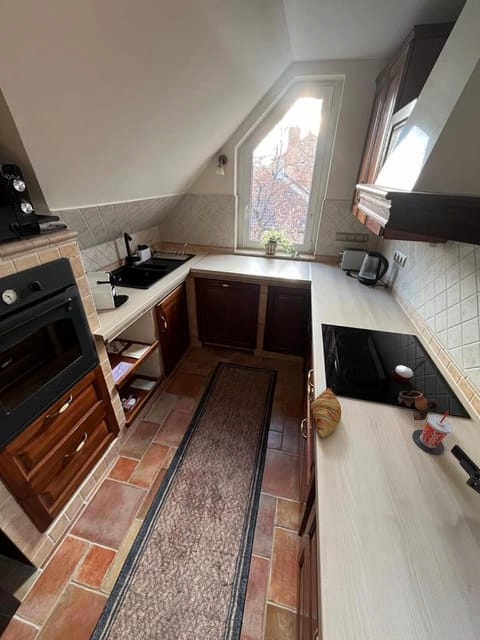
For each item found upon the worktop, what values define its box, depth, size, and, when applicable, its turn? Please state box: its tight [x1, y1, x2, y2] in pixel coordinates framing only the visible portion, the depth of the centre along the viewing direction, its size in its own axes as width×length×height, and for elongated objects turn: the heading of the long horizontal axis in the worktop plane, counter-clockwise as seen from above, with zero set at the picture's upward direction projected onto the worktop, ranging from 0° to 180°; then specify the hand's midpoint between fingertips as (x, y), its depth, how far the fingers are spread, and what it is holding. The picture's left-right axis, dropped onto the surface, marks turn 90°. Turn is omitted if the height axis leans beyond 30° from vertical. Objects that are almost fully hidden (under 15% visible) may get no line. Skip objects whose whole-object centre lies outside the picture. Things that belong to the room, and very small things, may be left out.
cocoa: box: [390, 357, 428, 383], centre depth 102 cm, size 10×6×12 cm, turn 54°
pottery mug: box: [397, 390, 439, 422], centre depth 91 cm, size 12×10×8 cm
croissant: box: [310, 387, 342, 439], centre depth 88 cm, size 21×10×8 cm, turn 159°
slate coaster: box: [412, 429, 445, 456], centre depth 81 cm, size 9×9×1 cm
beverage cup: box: [420, 410, 453, 448], centre depth 77 cm, size 6×6×14 cm
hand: (476, 444), depth 66 cm, fingers open, 13 cm apart
